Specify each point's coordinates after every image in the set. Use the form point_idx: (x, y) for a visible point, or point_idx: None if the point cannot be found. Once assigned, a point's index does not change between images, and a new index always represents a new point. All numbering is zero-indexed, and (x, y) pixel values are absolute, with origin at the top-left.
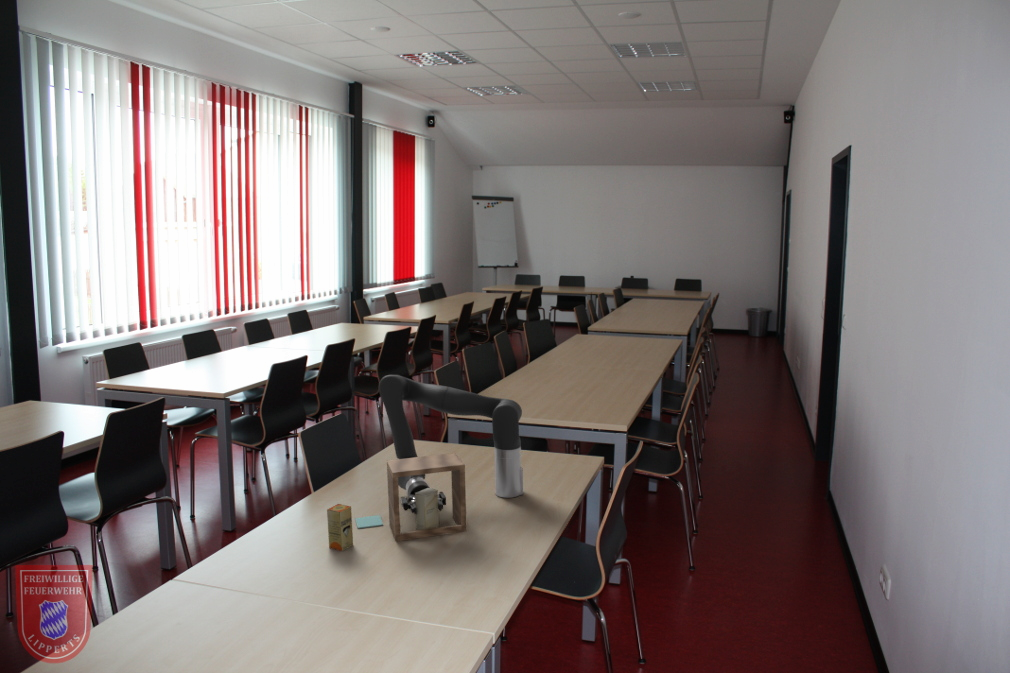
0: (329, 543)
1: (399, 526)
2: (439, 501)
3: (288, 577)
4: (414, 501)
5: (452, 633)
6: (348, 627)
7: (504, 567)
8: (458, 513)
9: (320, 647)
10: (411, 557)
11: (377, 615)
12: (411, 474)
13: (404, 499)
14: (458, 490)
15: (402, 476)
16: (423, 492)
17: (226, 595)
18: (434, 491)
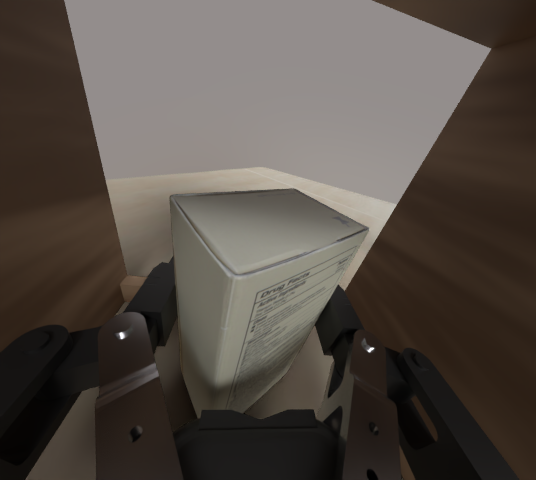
0: None
1: (354, 279)
2: (157, 287)
3: None
4: (353, 358)
5: (267, 175)
6: (340, 198)
7: (173, 187)
8: (85, 284)
9: (351, 195)
10: None
11: (322, 197)
12: (427, 8)
13: (494, 474)
14: (48, 130)
15: (471, 37)
16: (303, 211)
17: None
18: (209, 197)
